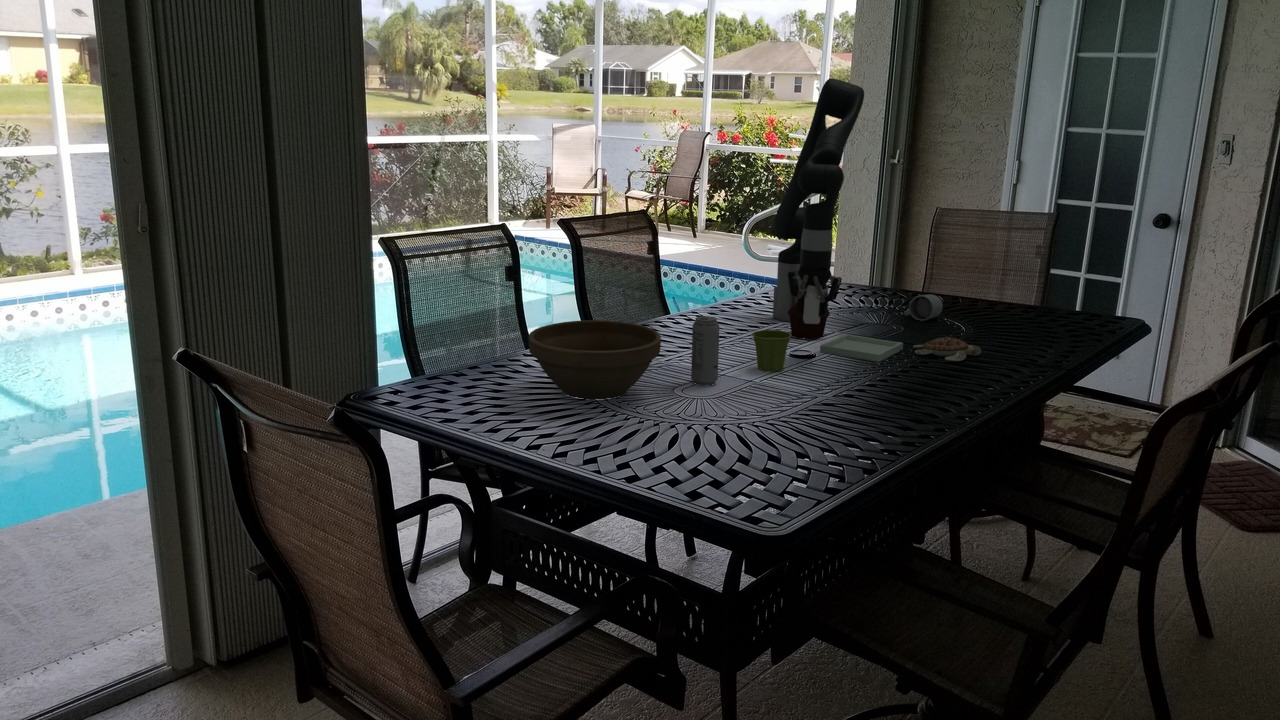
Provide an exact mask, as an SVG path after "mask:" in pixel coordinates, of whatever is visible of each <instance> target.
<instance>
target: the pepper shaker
mask: <svg viewBox="0 0 1280 720" xmlns="http://www.w3.org/2000/svg"><path fill="white" fill-rule="evenodd" d="M820 302H821V300H820V296H819V294H818V292H817V289H816V286H810V285H808V286H807V297H805V298H804V311H803V320H804V323H806V324H819V323H820V317H819V307H820Z"/></svg>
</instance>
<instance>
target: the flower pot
mask: <svg viewBox="0 0 1280 720" xmlns="http://www.w3.org/2000/svg"><path fill="white" fill-rule="evenodd" d="M661 344H662V337H661V334H660V333H659V331H657V330H655V329H653V328H650V326H649V327H648V326H645V325H643V324H642V325H641V324H637V323H633V322H626V321H617V320H602V319H601V320H600V319H592V320H591V319H587V320H572V321H571V320H570V321H563V322H557V323H552V324H546V325H544V326H541V327H538V328H535V329H534V330H532V331H531V332H530V333H529V334H528V349H529V351H528V352H529V353H530V355H531V356H533V358H535V359H536V361H537V362H538V363H539V366H540V367H541V369H542V370H543V372H544V373H545V374H546V375H547V377H548V378H549V379H550V380H551V382H552V383H554V385H556V386H557V388H559V390H561V392H562V393H563V394H564V393H565V394H567V395H569V396H573V397H578V398H584V399H585V398H586V399H606V398H614V397H618V396H621V397H623V396H624V395H626V393H628V391H629V390H630V389H631V388H632V387H633V386H635V384H636V383H637V382H638V381H639V380H640V379H641V378H642V376H644V374H645V372H646V371H647V370H648V368H649V366H651V363H652V362H653V360H654V359H656V358H657V357H658V356H659V355H660V353H661V346H662V345H661ZM565 394H564V395H565ZM567 395H566V396H567ZM622 395H623V396H622ZM569 396H568V397H569ZM618 398H619V397H618Z"/></svg>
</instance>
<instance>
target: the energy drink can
mask: <svg viewBox="0 0 1280 720" xmlns="http://www.w3.org/2000/svg"><path fill="white" fill-rule="evenodd" d="M691 331H692V332H691V333H692V335H691V337H692V339H691V340H692V341H691V342H692V343H691V374H690V375H691V376H690V379H691V380H692V382H693V384H694V383H696V384H699V385H698V386H700V385H711V386H713V385H712V384H714V383H715V384H716V382H717V381H718V379H719V378H718V377H719V354H720V352H719V351H720V325H719V322H718V318H717V317H714V316H711V315H709V316H708V315H707V316H706V315H704V316H703V315H702V316H696V317H695V321H694V322H693V324H692V330H691ZM696 384H695V385H696ZM715 384H714V385H715Z"/></svg>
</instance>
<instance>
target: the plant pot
mask: <svg viewBox="0 0 1280 720" xmlns="http://www.w3.org/2000/svg"><path fill="white" fill-rule="evenodd" d="M751 336H752V337H753V341H754V344H755V351H756V353H755V354H756V362H757V363H756V364H757V369H758V370H760V371H762V372H768V373H775V372H776V371H778V372H781V371H783V370H784V368H785V367H784V366H785V360H786V355H787V349H788V345H789V343H790V339H791V338H792V337H793V336H792V335H791V332H787V331H783V330H775V329H774V330H773V329H767V330H766V329H762V330H756V331H754V332H752V333H751Z"/></svg>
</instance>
